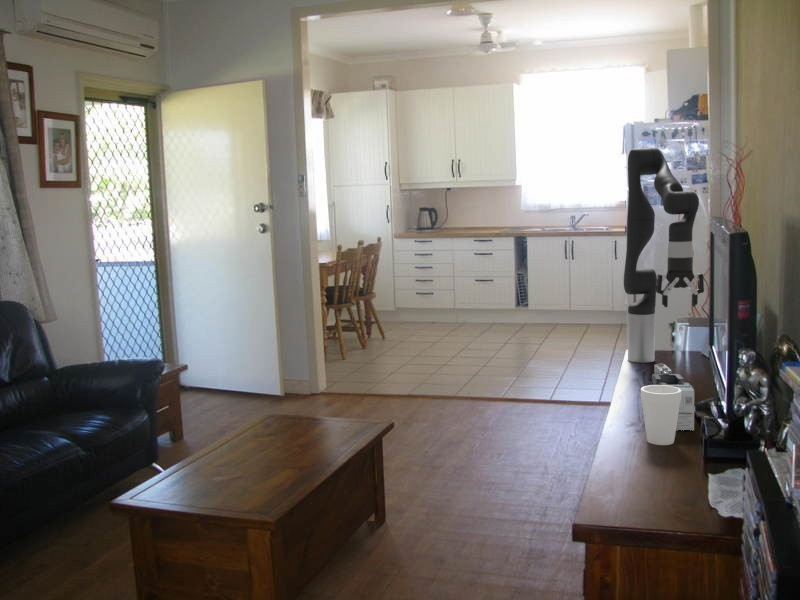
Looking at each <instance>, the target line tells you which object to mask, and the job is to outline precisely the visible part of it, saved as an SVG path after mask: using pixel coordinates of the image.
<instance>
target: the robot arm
mask: <svg viewBox="0 0 800 600" xmlns="http://www.w3.org/2000/svg"><path fill="white" fill-rule="evenodd" d="M652 175H656V176H655V177H654V179H653V181H654V182H653V186H654V189H655V191H656V193H657V194H658V195H659V196H660V198H661V201H662V207H663V210H664V212H665V213H666V214H669V215H683V216H682V218H681V219H680V220H678V221H675V222H671V223H670V224H669V226H668V243H667V244H668V245H667V272H666V274H660V273H658V274H657V272H656V271H655V269H654V268H653V267H652V268H651V267H648V268H647V267H643V268H641V267H639V268H637V265H638V261H639V258H640V256H641V254H642V252H643V251H644V249H645V247H646V246H647V245H648V243H649V241H650V240H651V239H652V237H653V235H654V232H655V219H656V217H655V216H656V215H655V214H656V213H655V211H654V208H653V206H652V204H651V203H650V201H649V199H648V198H647V197H646V195H645V193H644V190H643V188H642V184H641V182H642V181H641V176H652ZM627 180H628V181H627V184H628V200H627V202H628V204H627V218H626V252H625V263H624V271H623V290H624V291H625V293H626V294H627V295H643V296H642V297H641V298H640V299H639V300H638V301H635V302H632V303H630V304H629V305H628V307H627V321H628V322H627V361H628V362H632V363H640V364H641V363H643V364H644V363H653V362H655V357H656V356H655V353H656V352H655V350H656V349H655V348H656V346H655V343H656V342H655V340H656V339H655V338H656V332H655V331H656V329H655V328H656V306H657V305H656V301H657V299H656V298H657V294H660V295H661V297H662V298H661V304H662V306H663V307H664V308H668V302H669V301H668V298H669V297H668V294H669V292H670V291H671V290H672V289H673V288H675V289H678V288H682V289H686V288H688V289H689V291H690V292H691V293H692V294H691V307H692V308H693V307H695V308H696V306H697V305H698V297H699V295H700V294H703V293H705V285H704V283H705V282H704V274H703V273H699V272H698V273H693V270H694V269H693V267H694V265H693V263H694V260H693V259H694V245H693V229H694V228H693V227H694V225H695V223H694V222H695V219H696V216H697V213H698V210H699V207H700V200H699V196H698V195H697V193H696V192H694V191H692V190H691V191H689V190H688V191H687V190H686V191H684V188H683V186H682V185H681V183H680V182H679V181H678V180H677V178H676V177H675V176H674V174H672V171H671V169H670V167H669V165H668V162H667V160H666V157H665V156H664V153H663V152H662V151H661V150H660V149H659V148H656V147H636V148H631V150H630V151H629V153H628V157H627ZM694 279H695V281H697V289H696V288H695V286H694V285H693V283H692V281H693V280H694ZM665 280H667V281H668V282H667V283H666V285H665V287H664V289H662V286H663V282H664V281H665Z"/></svg>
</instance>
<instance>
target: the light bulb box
mask: <svg viewBox="0 0 800 600" xmlns="http://www.w3.org/2000/svg"><path fill="white" fill-rule="evenodd" d="M649 385H650V384H648V385H647V386H649ZM667 386H674V387H677V388H680V389H681V390H682V394H681V401H680V407H679V413H678V420H677V427H676V432H677V431H678V430H681V431H682V430H683V431H684V430H690V431H691V430H692V431H695V389H693V388H694V387H693V388H691V387H690V386H689V385H688V384H687V385H675V384H667ZM681 431H680V432H681Z"/></svg>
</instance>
